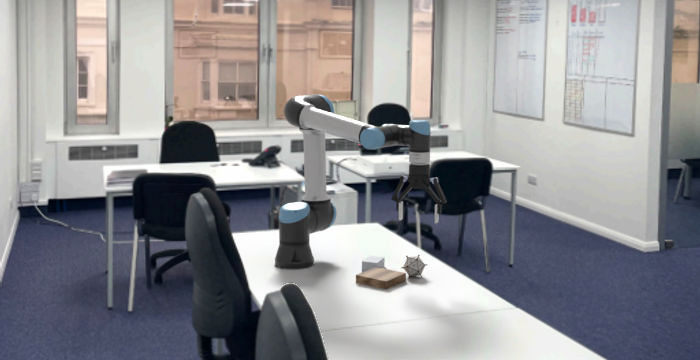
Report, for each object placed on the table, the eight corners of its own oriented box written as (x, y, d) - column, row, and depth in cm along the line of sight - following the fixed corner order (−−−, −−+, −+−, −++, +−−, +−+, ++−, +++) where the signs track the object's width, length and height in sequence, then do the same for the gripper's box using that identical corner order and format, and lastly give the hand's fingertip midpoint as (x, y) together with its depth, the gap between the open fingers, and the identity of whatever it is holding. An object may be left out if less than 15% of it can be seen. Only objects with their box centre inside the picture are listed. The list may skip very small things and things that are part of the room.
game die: (417, 287, 299) (424, 271, 292) (396, 278, 300) (402, 261, 293) (424, 271, 305) (431, 254, 298) (403, 261, 306) (410, 245, 299)
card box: (361, 271, 307) (361, 261, 306) (369, 265, 315) (369, 255, 314) (376, 273, 305) (376, 263, 304) (384, 267, 313) (384, 257, 312)
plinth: (355, 283, 291) (355, 274, 290) (375, 274, 301) (375, 267, 301) (386, 289, 284) (386, 281, 283) (405, 281, 294) (405, 273, 294)
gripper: (383, 162, 293) (382, 220, 297) (450, 166, 284) (449, 226, 287) (389, 160, 300) (389, 216, 303) (455, 163, 291) (454, 221, 294)
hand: (418, 221), depth 295 cm, fingers open, 13 cm apart
